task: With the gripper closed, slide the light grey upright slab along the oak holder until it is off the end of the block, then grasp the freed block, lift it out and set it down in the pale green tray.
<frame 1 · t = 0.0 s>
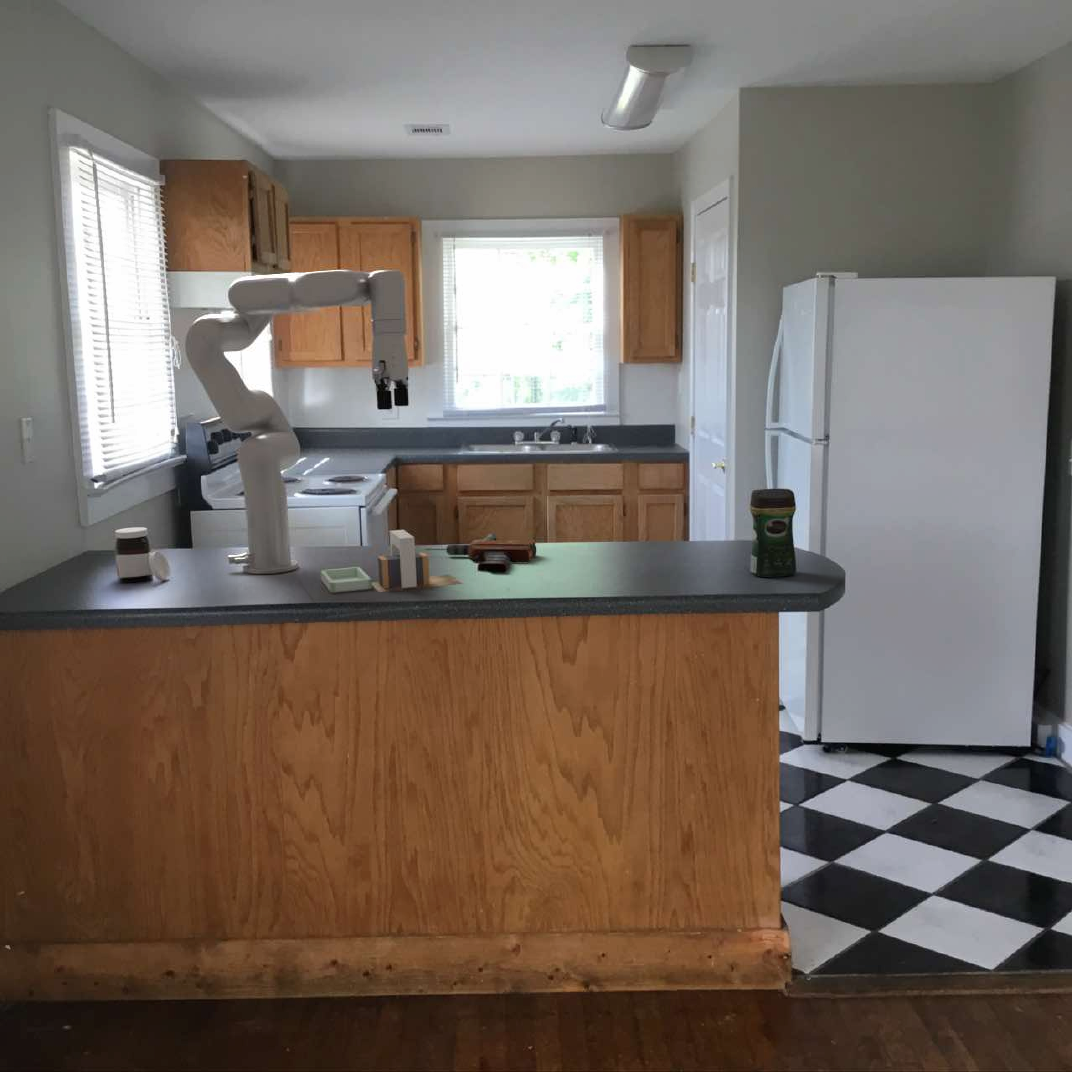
hand: (393, 407, 255), 37 cm above the table, tool pointing down, fingers open, 9 cm apart
coffee jar: (772, 575, 250), on the table
tray: (346, 586, 250), on the table
block: (404, 584, 248), resting on holder
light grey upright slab: (403, 558, 247), point 6 cm above the table, slide at 0.0 cm
holder: (415, 585, 249), on the table
spread jar: (144, 581, 262), on the table
tool: (477, 561, 275), on the table
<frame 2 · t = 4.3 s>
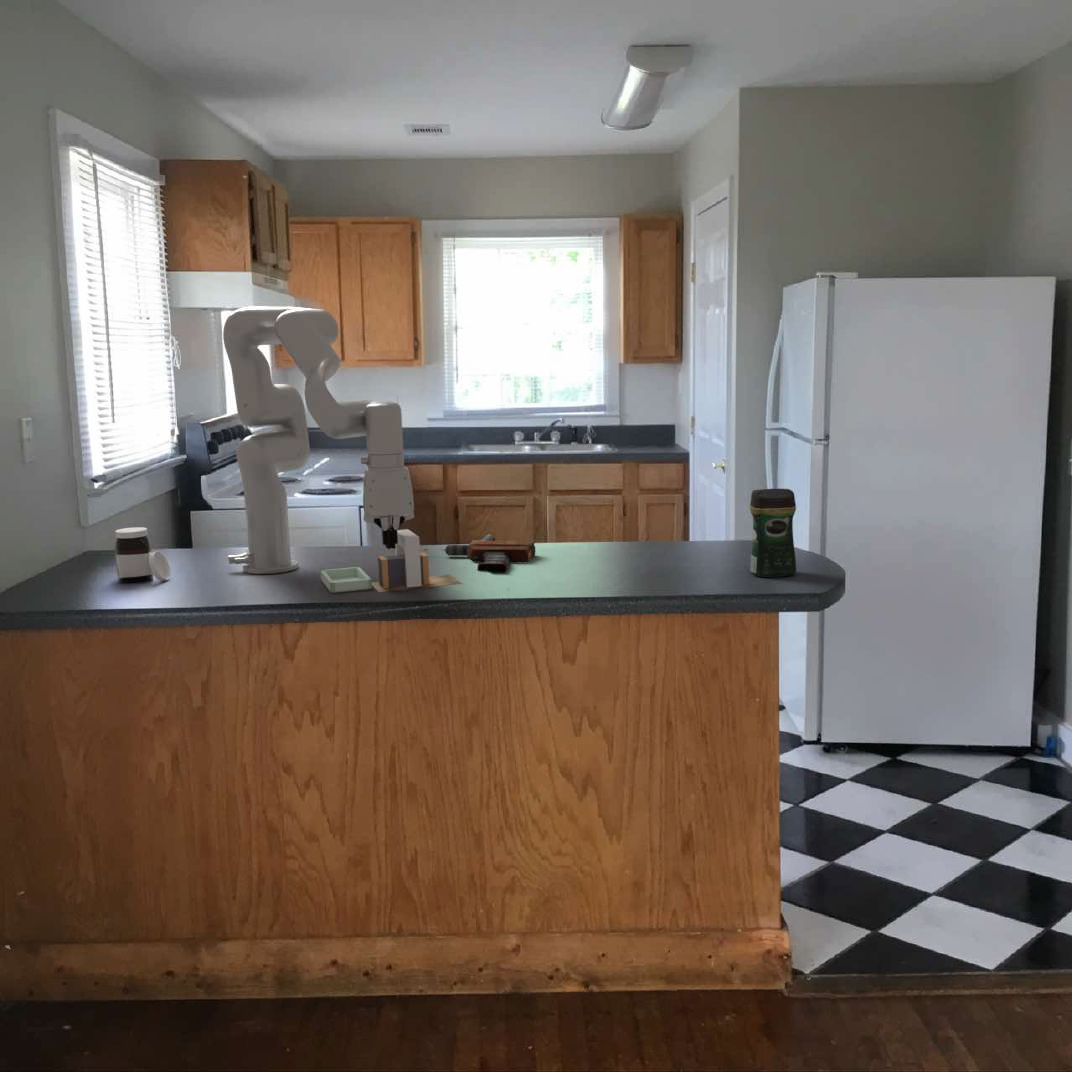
hand: (390, 547, 246), 9 cm above the table, tool pointing down, fingers closed
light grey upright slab: (407, 557, 248), point 6 cm above the table, slide at 1.1 cm, touching gripper
everything else where it was.
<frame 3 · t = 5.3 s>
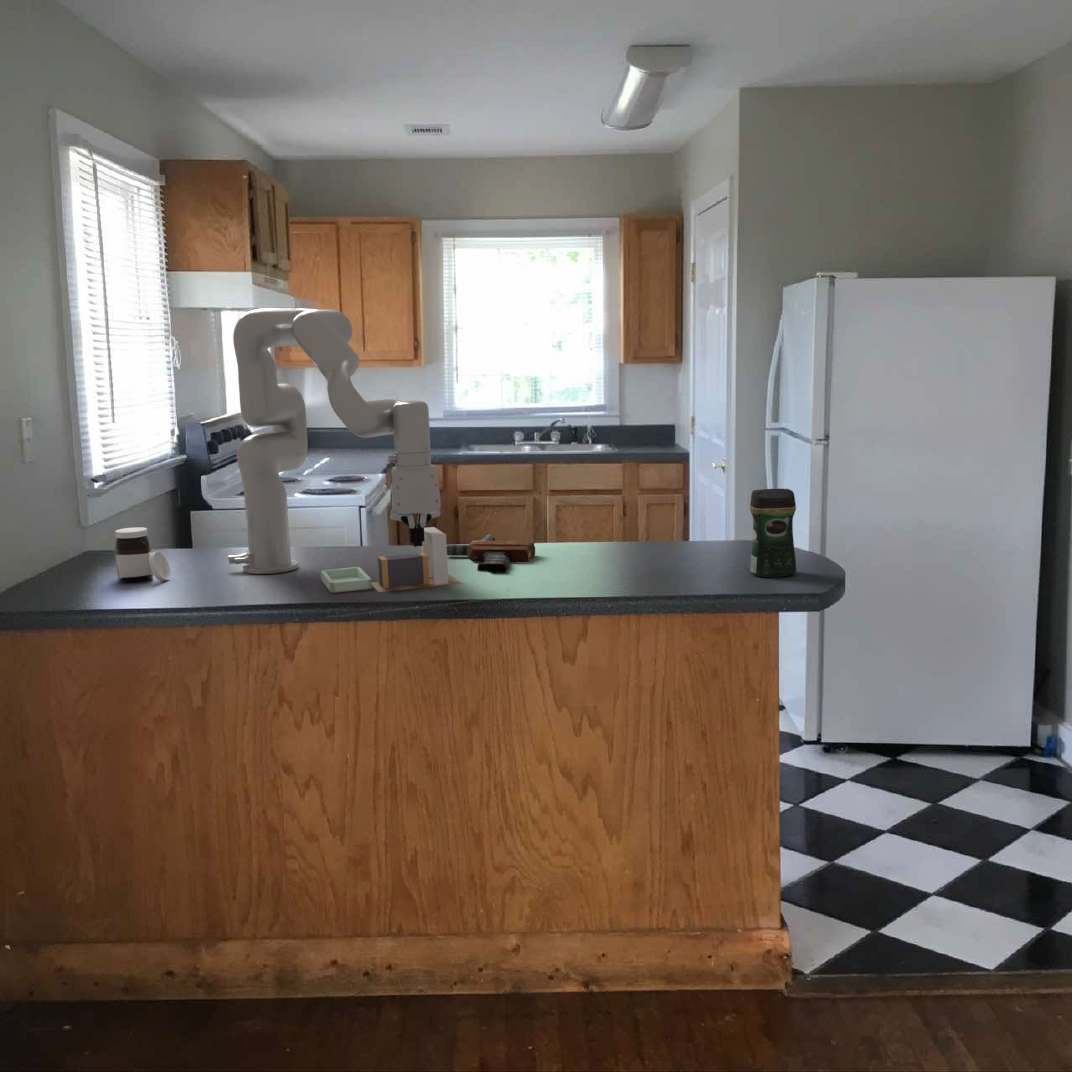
hand: (417, 545, 248), 9 cm above the table, tool pointing down, fingers closed
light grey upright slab: (434, 555, 249), point 6 cm above the table, slide at 6.8 cm, touching gripper
everything else where it was.
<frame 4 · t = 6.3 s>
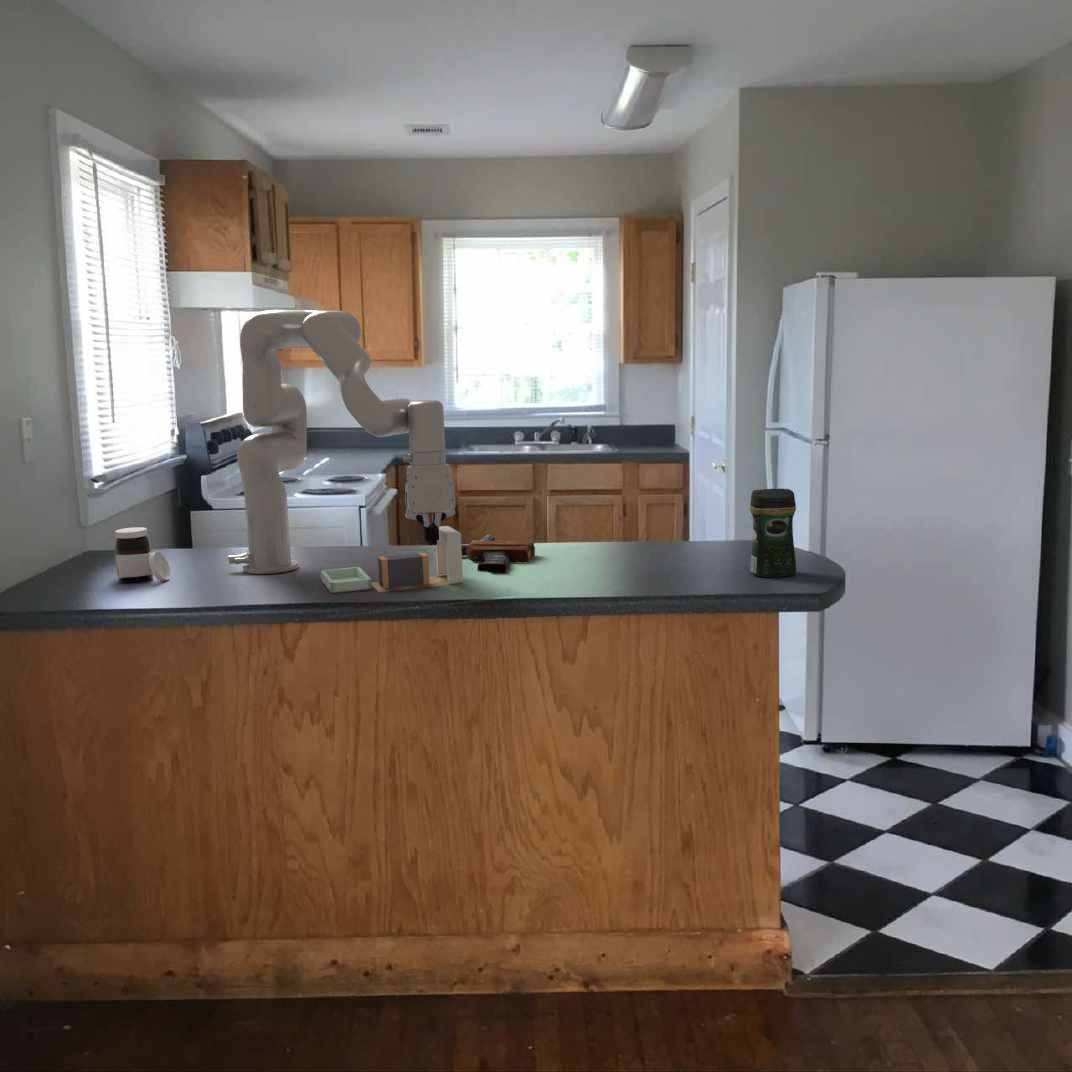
hand: (431, 544, 249), 9 cm above the table, tool pointing down, fingers closed
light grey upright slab: (448, 554, 250), point 6 cm above the table, slide at 10.1 cm, touching gripper
everything else where it was.
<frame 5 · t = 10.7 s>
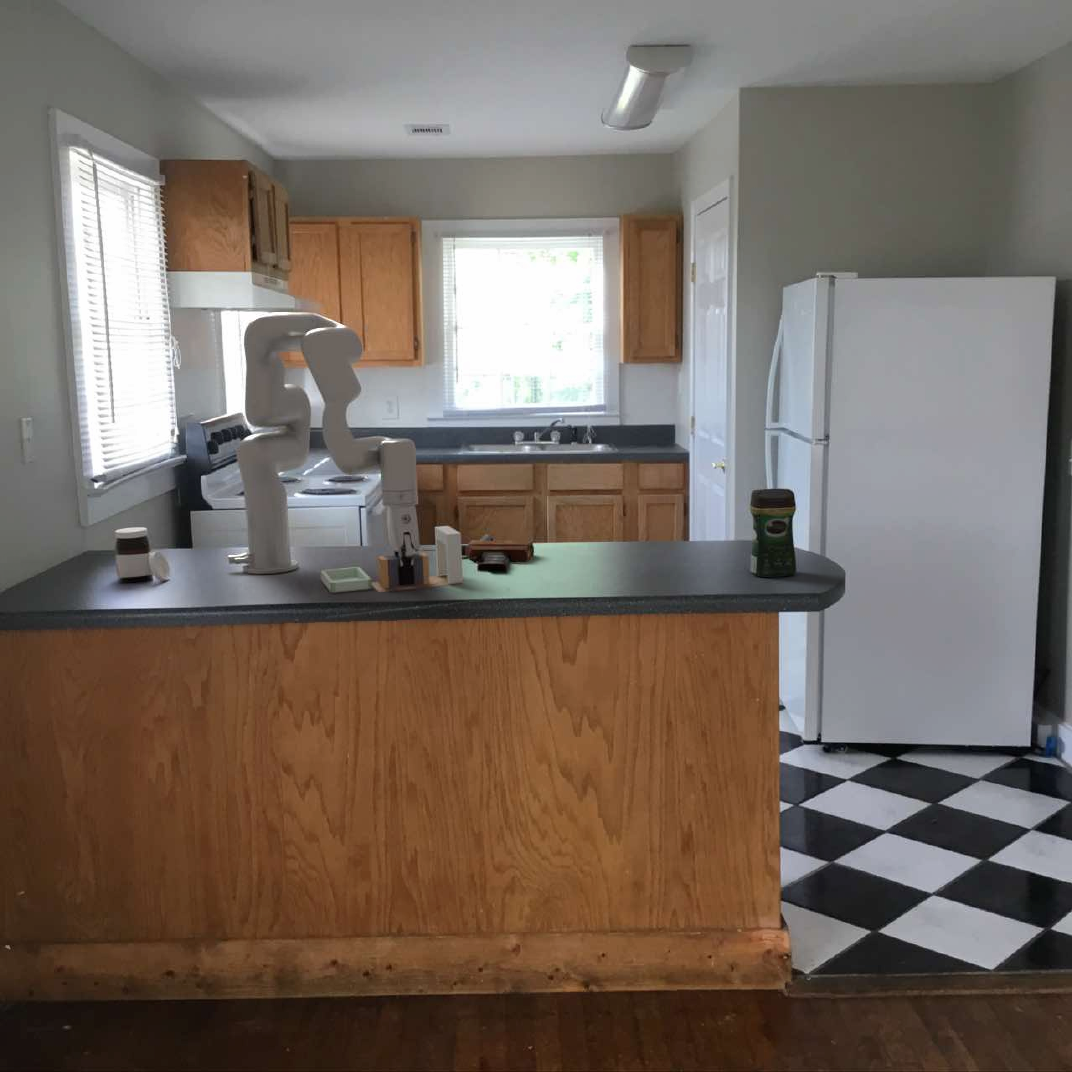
hand: (404, 581, 248), 1 cm above the table, tool pointing down, fingers closed on block, 4 cm apart
block: (404, 584, 248), point 1 cm above the table, touching gripper, holder
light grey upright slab: (448, 554, 250), point 6 cm above the table, slide at 10.0 cm
everything else where it was.
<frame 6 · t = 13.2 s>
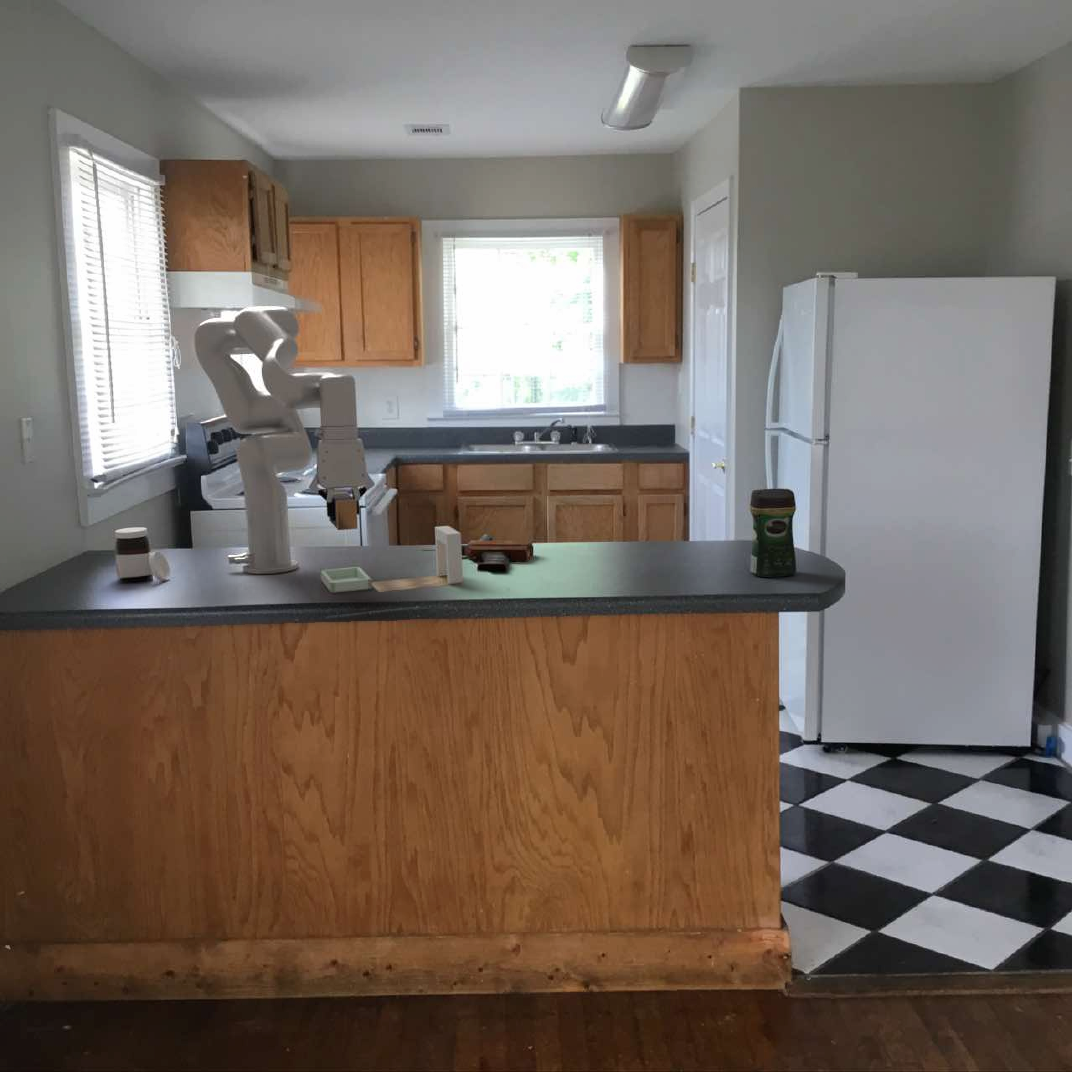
hand: (343, 518, 248), 15 cm above the table, tool pointing down, fingers closed on block, 4 cm apart
block: (343, 524, 249), point 13 cm above the table, touching gripper
everything else where it was.
when the fingers open (3 cm above the table, at t = 16.0 s): block stays where it is, resting on tray.
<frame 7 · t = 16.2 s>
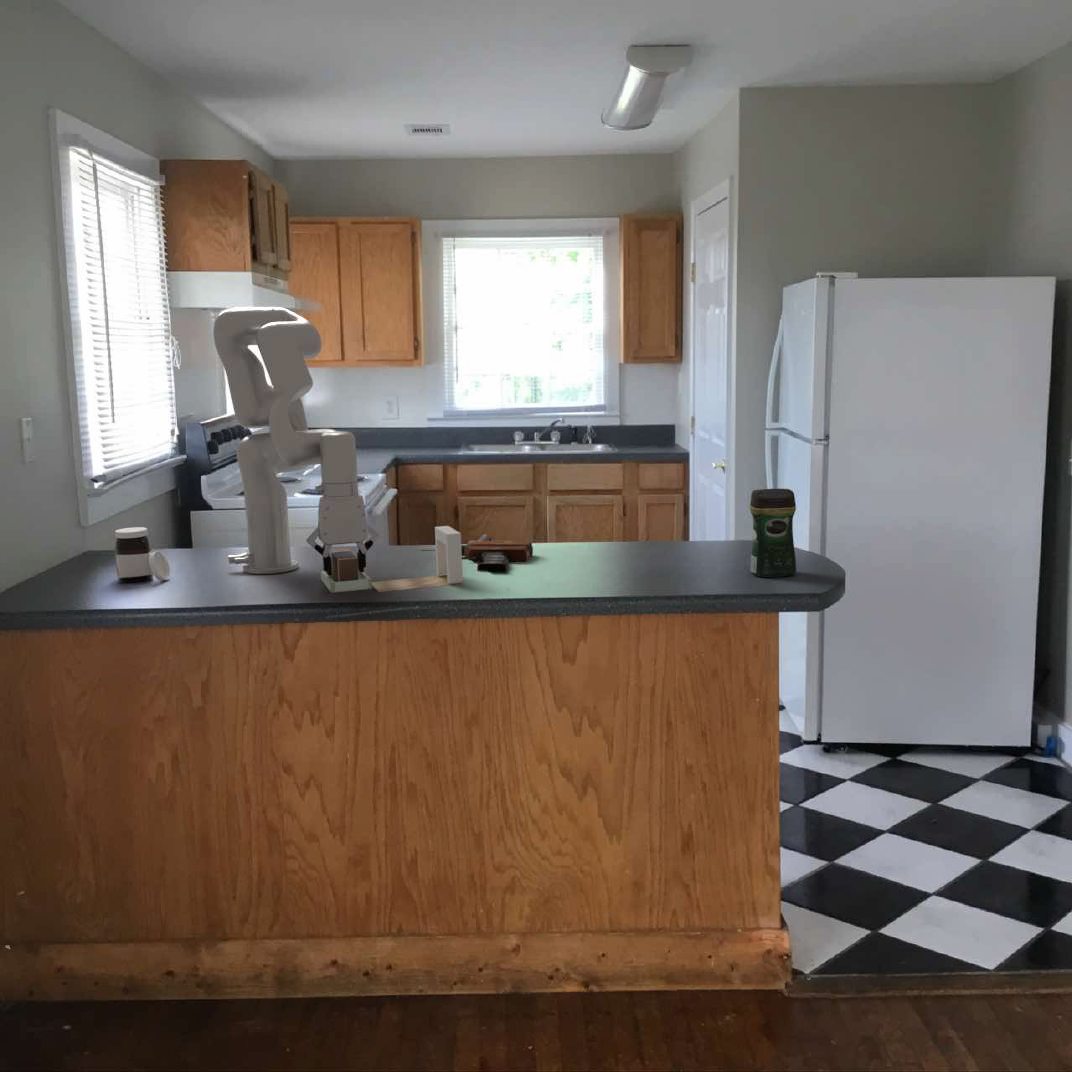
hand: (345, 571, 250), 3 cm above the table, tool pointing down, fingers open, 6 cm apart
block: (345, 582, 251), point 1 cm above the table, touching tray
everything else where it was.
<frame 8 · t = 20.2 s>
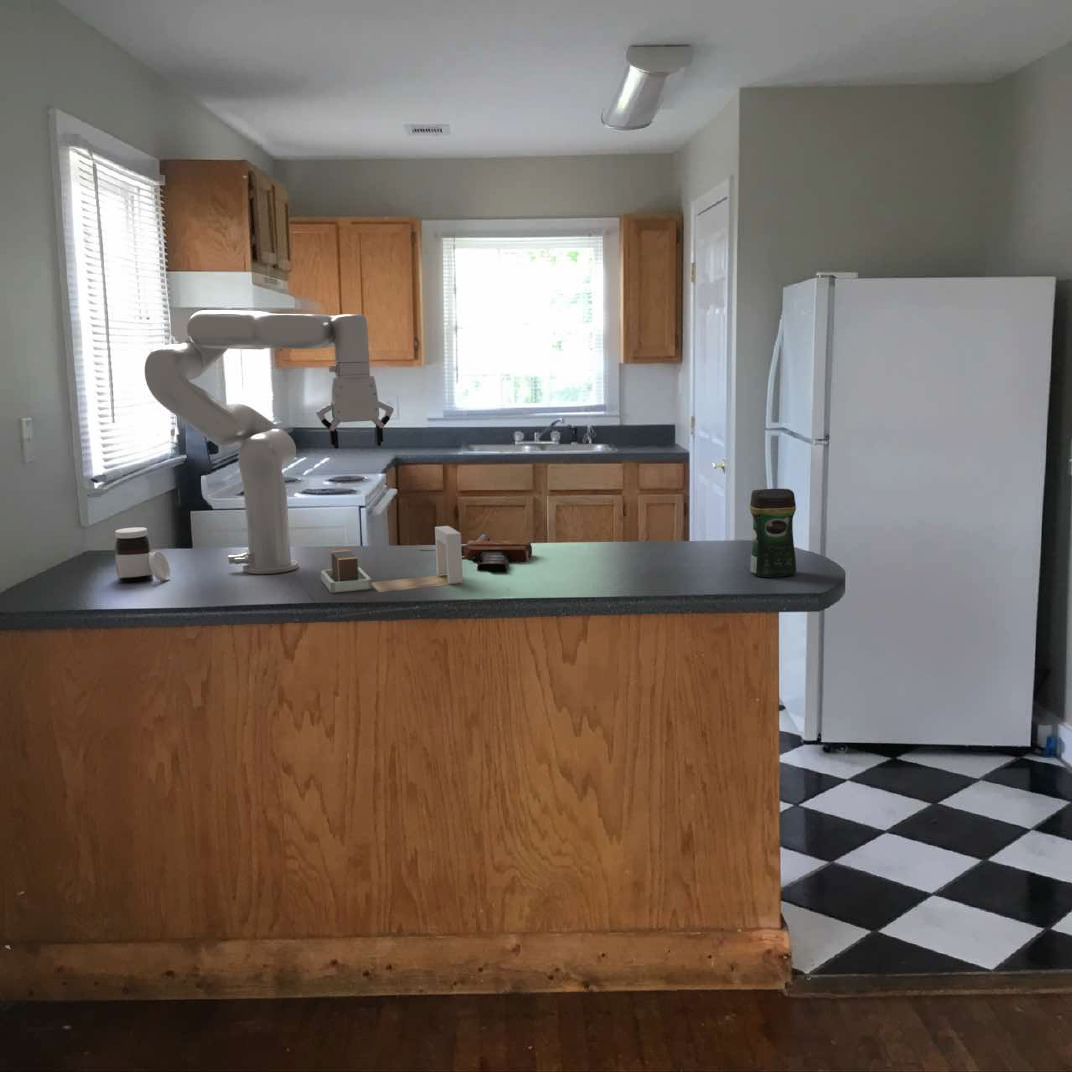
hand: (357, 446, 262), 28 cm above the table, tool pointing down, fingers open, 9 cm apart
nothing on the table moved.
at the end: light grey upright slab slide at 10.0 cm; block inside the target area on the tray (1.1 cm from its centre), point 0.6 cm above the tray's base; the gripper is holding nothing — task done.
